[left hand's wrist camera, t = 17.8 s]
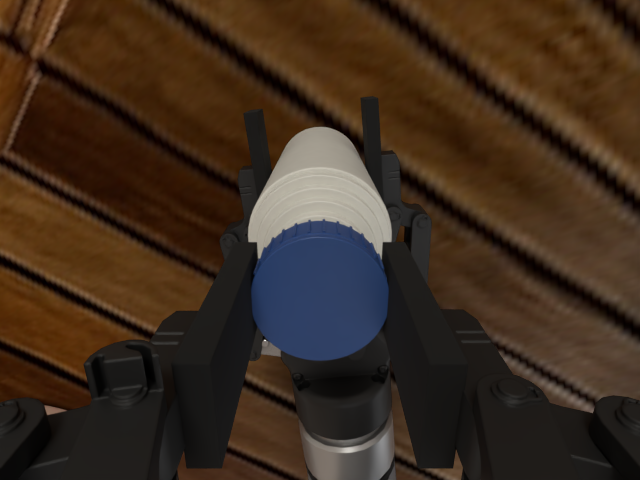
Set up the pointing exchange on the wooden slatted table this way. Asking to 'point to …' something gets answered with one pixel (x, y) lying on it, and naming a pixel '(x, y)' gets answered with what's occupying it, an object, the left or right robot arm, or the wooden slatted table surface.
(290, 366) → the right robot arm
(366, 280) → the cap
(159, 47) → the wooden slatted table surface
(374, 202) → the bottle
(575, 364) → the wooden slatted table surface
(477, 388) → the left robot arm
